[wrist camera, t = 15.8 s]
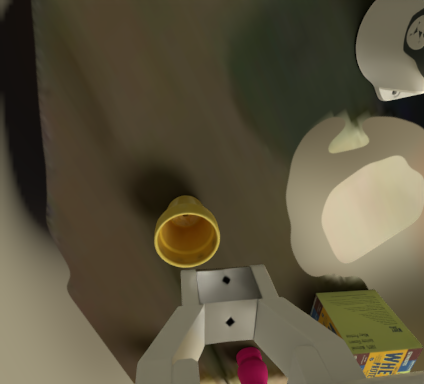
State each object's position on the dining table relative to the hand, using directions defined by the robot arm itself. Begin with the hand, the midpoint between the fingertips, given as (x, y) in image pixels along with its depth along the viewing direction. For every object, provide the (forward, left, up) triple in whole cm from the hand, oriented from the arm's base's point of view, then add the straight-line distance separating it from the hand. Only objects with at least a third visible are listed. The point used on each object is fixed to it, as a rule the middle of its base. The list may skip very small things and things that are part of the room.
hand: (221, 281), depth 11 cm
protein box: (-37, +48, -39) cm, 72 cm away
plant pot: (0, +19, -39) cm, 44 cm away
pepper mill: (-15, +62, -39) cm, 75 cm away
